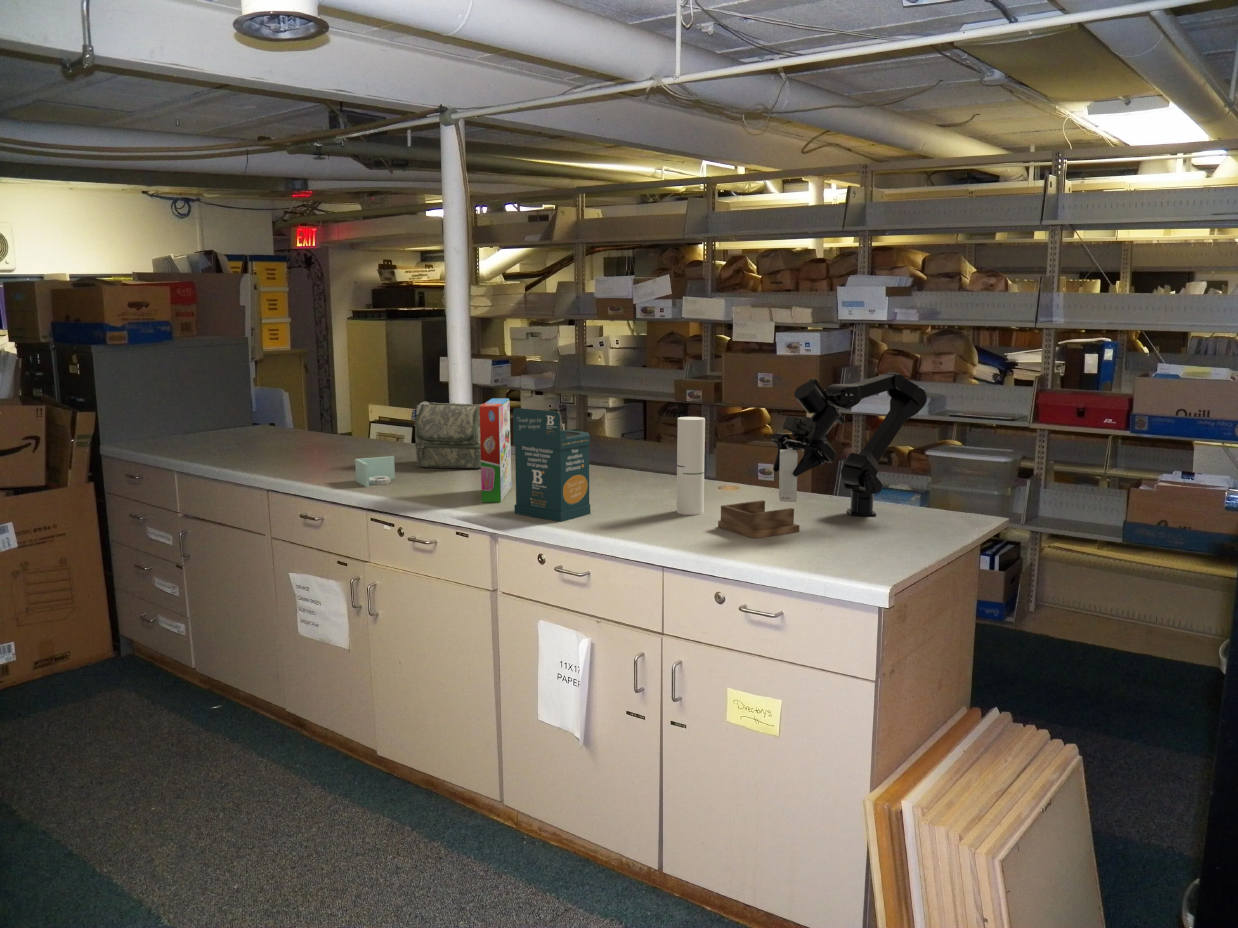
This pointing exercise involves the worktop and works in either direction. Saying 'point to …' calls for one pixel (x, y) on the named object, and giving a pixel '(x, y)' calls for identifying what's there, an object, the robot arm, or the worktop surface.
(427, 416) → the lunch bag
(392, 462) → the l-shaped corner panel
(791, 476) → the skincare box
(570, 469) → the donation box
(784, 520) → the box
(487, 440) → the game box
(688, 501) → the cylindrical container
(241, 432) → the worktop surface
